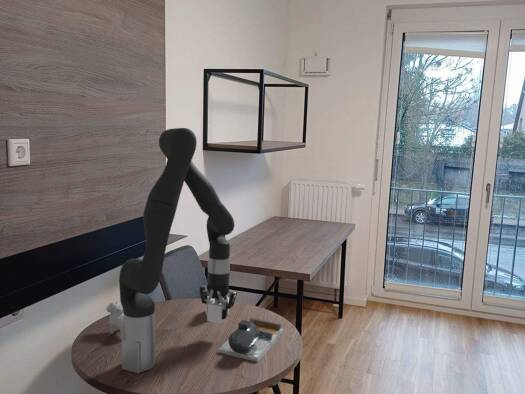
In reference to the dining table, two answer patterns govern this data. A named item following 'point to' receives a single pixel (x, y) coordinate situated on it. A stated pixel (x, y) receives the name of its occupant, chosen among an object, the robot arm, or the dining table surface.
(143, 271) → the robot arm
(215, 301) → the cube with round knob
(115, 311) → the dog figurine
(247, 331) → the motor mount
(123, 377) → the dining table surface
